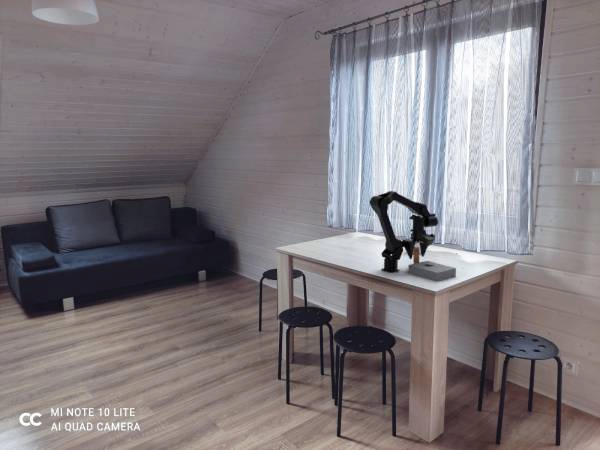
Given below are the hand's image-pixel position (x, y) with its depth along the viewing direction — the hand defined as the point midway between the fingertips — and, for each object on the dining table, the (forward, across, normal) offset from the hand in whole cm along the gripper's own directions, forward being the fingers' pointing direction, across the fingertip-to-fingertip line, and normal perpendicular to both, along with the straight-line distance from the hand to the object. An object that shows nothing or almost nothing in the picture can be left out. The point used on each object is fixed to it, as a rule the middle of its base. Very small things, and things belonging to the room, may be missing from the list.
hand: (416, 257), depth 229 cm
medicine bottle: (+5, +24, +21) cm, 32 cm away
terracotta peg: (+5, 0, 0) cm, 5 cm away
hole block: (+5, -5, -14) cm, 15 cm away
